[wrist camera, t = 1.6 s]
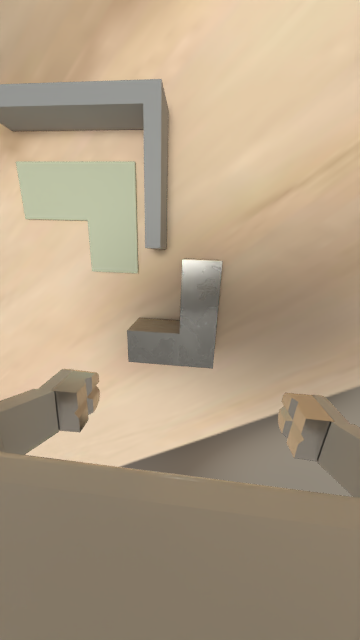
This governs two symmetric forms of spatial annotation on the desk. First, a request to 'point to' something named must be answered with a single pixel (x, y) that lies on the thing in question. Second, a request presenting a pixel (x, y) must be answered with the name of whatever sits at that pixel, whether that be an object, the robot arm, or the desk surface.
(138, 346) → the bracket
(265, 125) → the desk surface
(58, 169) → the mat
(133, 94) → the corner walls
